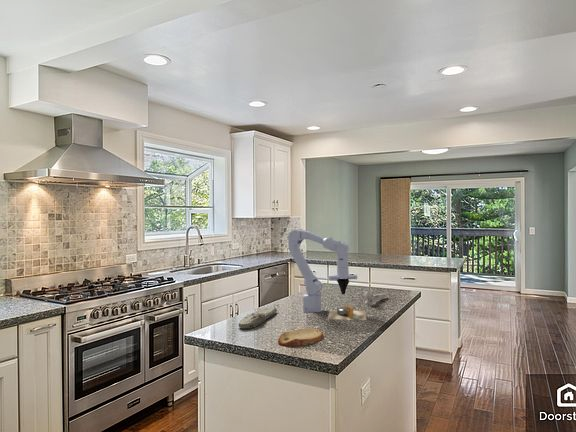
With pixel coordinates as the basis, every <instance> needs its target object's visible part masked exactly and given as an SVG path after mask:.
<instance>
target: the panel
mask: <svg viewBox="0 0 576 432" xmlns="http://www.w3.org/2000/svg"><path fill="white" fill-rule="evenodd" d="M353 318H357V319H358V320H357V321H367V315H366V310H354V309H353ZM353 318H350V317H348V316H343V315H338V314H337V309H330V310H329V312H328V316H327V320H340V321H341V320H344V321H345V320H347V321H349V320H350V321H356V320H355V319H353Z"/></svg>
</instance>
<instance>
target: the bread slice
mask: <svg viewBox="0 0 576 432" xmlns="http://www.w3.org/2000/svg"><path fill="white" fill-rule="evenodd" d="M323 339H324V334H323V331H322V330H320V329H318V328H314V327H310V328H300V329H295V330H290V331H284V332H283V333H282V334H280V335H279V337H278V339H277V342H278V345H279V346H281V347H284V346H285V347H286V348H288V347H290V346H291V347H303V346H304V345H305V346H308V345H312V344H315V343H317V342H319V341H322V340H323ZM305 346H304V347H305ZM291 347H290V348H291Z"/></svg>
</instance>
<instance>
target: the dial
mask: <svg viewBox="0 0 576 432" xmlns="http://www.w3.org/2000/svg"><path fill="white" fill-rule="evenodd" d="M336 310H337V314H338V315H343V316H348V317H350V318H353V310H354V307H352V306H351V305H349V304H344V306H343V307H342V306H341V307H340V306H339V307H337V308H336Z"/></svg>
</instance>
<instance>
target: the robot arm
mask: <svg viewBox="0 0 576 432" xmlns="http://www.w3.org/2000/svg"><path fill="white" fill-rule="evenodd" d="M304 240H310V241H312V242H315V243H318V244H320V245H322V247H323V248H324V249H327V250H329V251H331V252H332V253H333V252H334V253H336V272H337V273H336V275H329V276H328V281H336V282H337V284H338V286H339V289H340V293H341V294H340V295H346V290H347V288H348V285H349V284H350V280H358V275H356V274H349V273H350V272H349V271H350V270H349V252H350V247H349V245H348V244H347V243H346V242H342V241H340V240H339V241H338V240H337V239H334V238H333V237H331V236H330V237H325V238H324V237H322V236H320V235H318V234H315V233H313V232H311V231H308V230H304V229H303V228H302V229H301V228H299V229H292V230H290V231H289V233H288V236H287V241H288V251H289V253H290V254H291V256H292V258H293V261H294V262H295V264H296V266H297V268H298V270H299V271H300V273H301V275H302V277H303V279H304V285H305V292H306V293H304V294H303V296H302V309H303V311H302V313H305V314H307V313H319V312H323V311H324V310H323V308H322V292H321V290H322V289H323V283H322V282H321V281H320V280H319V279H318V278H317V276H316V275H314V273H313V271H312V270H311V268H310V266H309V264H308V262H307V260H306V258H305V256H304V255H303V252H302V251H301V249H300V247H301V244H302V242H304Z"/></svg>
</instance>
